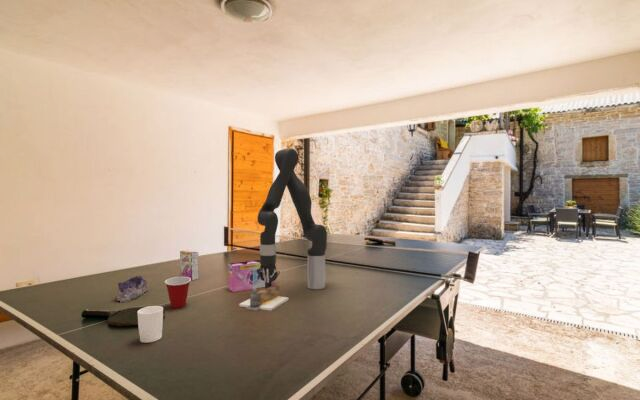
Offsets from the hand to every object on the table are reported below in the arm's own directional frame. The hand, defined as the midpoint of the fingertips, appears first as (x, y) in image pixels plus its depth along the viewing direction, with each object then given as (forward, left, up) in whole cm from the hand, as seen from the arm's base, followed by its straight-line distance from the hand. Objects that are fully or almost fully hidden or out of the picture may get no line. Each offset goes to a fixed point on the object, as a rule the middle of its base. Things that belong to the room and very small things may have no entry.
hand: (268, 289), depth 159 cm
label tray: (+8, +2, -4) cm, 9 cm away
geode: (+21, -64, -4) cm, 68 cm away
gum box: (-14, -19, -4) cm, 24 cm away
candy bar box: (-16, -63, -4) cm, 65 cm away
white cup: (+53, -14, -4) cm, 55 cm away
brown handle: (+7, +3, -2) cm, 8 cm away
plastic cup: (+24, -31, -4) cm, 40 cm away
